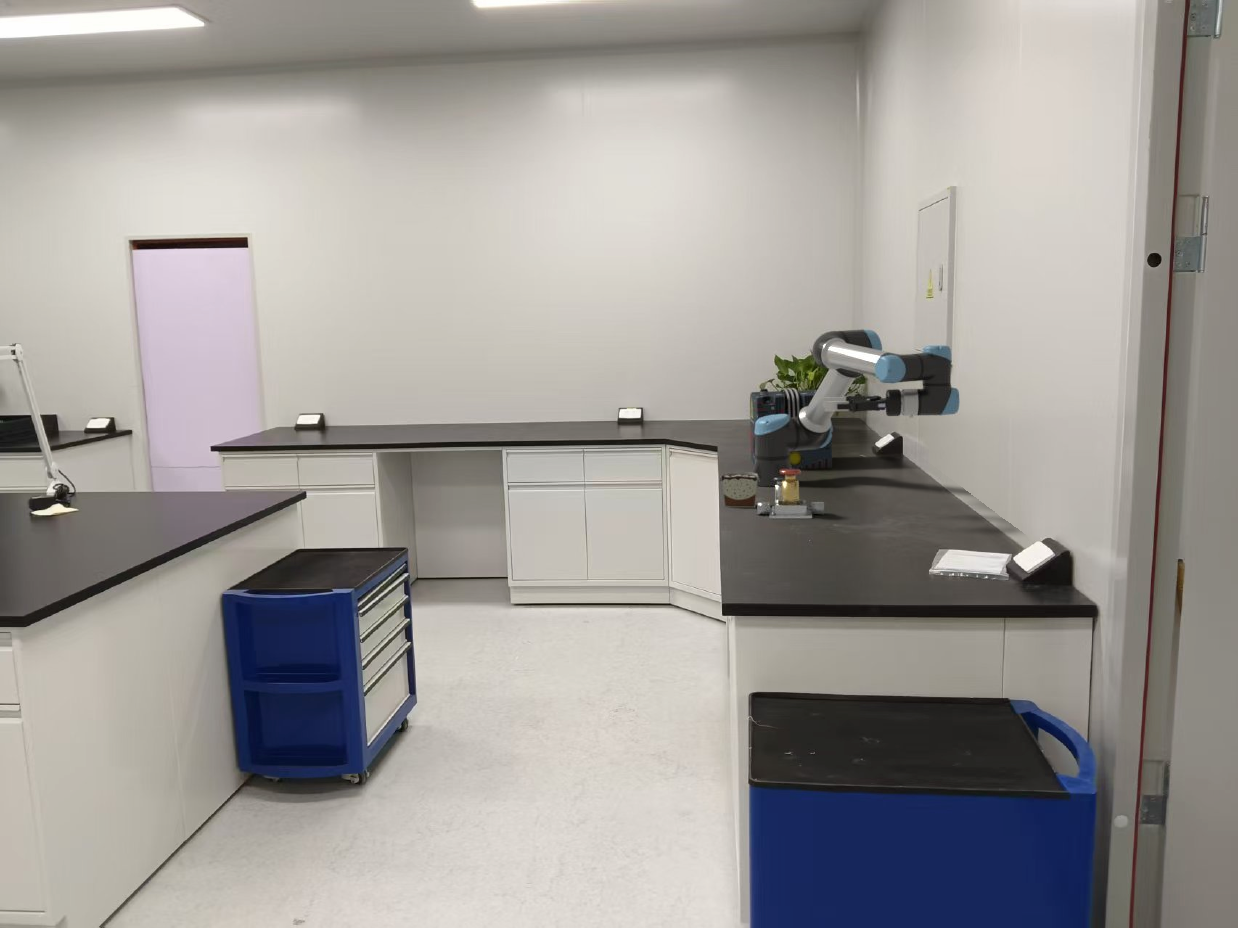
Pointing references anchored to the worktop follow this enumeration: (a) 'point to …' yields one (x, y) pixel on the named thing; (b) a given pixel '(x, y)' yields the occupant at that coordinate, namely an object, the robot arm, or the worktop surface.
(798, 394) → the power unit
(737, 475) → the food container
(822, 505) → the flange socket
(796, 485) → the brass valve
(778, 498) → the clear glass cylinder
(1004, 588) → the worktop surface
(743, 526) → the worktop surface
